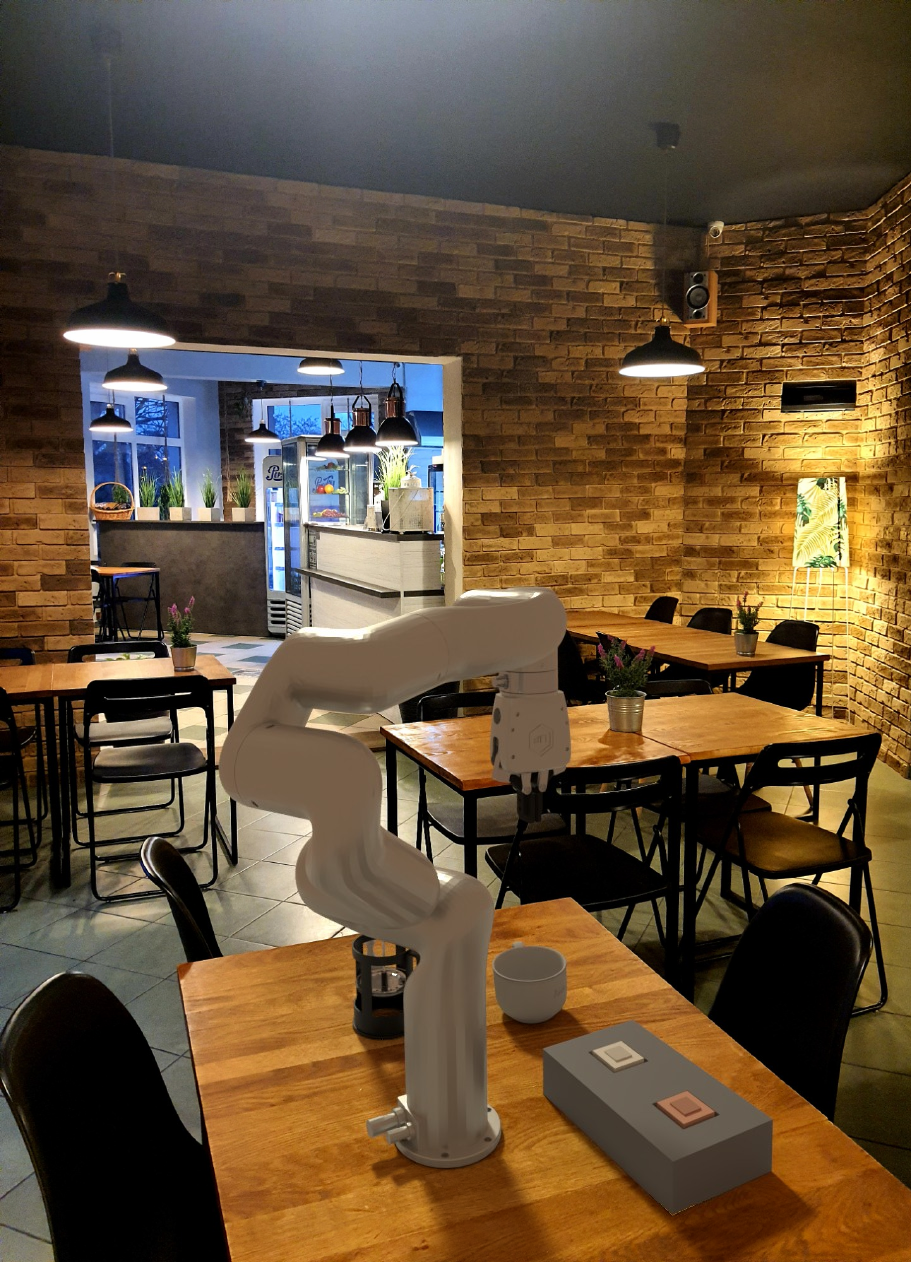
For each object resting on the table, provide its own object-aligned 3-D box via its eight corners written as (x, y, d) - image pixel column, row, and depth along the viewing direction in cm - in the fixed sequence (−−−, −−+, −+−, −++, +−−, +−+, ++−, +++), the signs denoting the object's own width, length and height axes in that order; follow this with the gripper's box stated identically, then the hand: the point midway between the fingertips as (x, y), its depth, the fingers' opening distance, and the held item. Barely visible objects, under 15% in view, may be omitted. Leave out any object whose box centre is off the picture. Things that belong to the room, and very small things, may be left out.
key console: (672, 1216, 96) (672, 1161, 95) (543, 1093, 117) (542, 1048, 116) (771, 1170, 102) (772, 1119, 102) (632, 1062, 123) (632, 1019, 123)
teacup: (570, 1032, 131) (570, 977, 130) (493, 1032, 131) (492, 978, 131) (561, 984, 145) (561, 934, 144) (491, 984, 145) (490, 935, 144)
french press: (335, 1028, 133) (330, 872, 131) (373, 999, 141) (369, 851, 139) (404, 1050, 127) (400, 887, 125) (440, 1018, 135) (437, 864, 133)
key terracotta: (683, 1149, 101) (683, 1122, 101) (656, 1127, 105) (656, 1100, 105) (714, 1136, 103) (714, 1109, 103) (686, 1115, 107) (687, 1088, 107)
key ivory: (614, 1092, 112) (614, 1066, 111) (592, 1073, 115) (592, 1048, 115) (643, 1081, 114) (644, 1056, 113) (621, 1063, 117) (621, 1039, 117)
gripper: (493, 692, 114) (495, 837, 116) (593, 681, 121) (593, 818, 123) (464, 683, 121) (466, 821, 123) (560, 673, 128) (560, 804, 130)
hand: (529, 819), depth 123 cm, fingers closed
